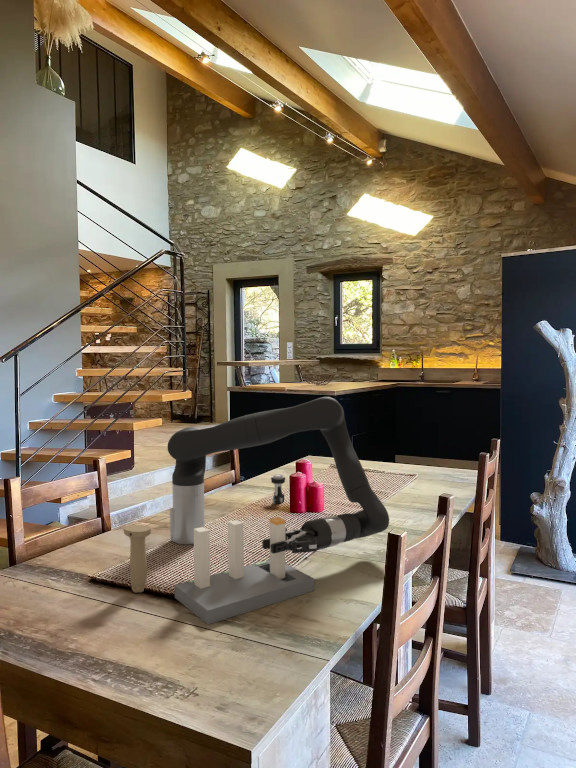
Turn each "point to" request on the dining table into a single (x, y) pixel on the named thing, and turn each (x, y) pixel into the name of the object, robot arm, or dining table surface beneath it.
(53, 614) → the dining table surface
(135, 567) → the handle
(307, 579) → the three peg stand
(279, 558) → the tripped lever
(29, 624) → the dining table surface
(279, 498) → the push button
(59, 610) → the dining table surface
